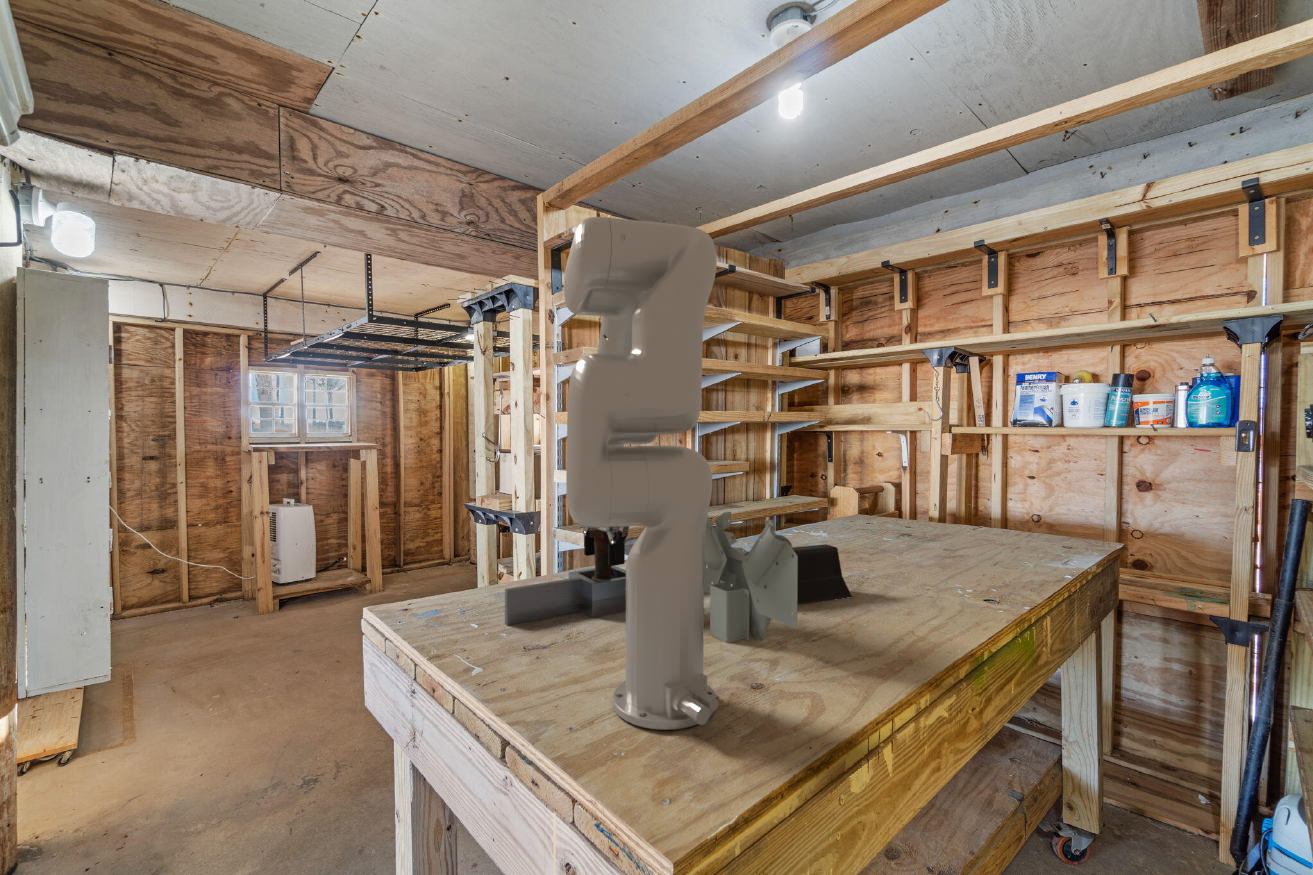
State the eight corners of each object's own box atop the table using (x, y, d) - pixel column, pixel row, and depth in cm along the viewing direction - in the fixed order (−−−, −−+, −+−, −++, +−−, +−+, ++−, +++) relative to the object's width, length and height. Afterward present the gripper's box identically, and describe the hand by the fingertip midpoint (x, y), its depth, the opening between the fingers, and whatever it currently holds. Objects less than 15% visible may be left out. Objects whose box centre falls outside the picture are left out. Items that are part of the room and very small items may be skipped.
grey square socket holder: (698, 595, 113) (698, 566, 113) (516, 633, 92) (516, 597, 92) (670, 584, 122) (670, 556, 121) (496, 616, 101) (496, 583, 100)
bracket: (814, 658, 82) (815, 523, 82) (780, 669, 79) (780, 527, 78) (701, 607, 106) (701, 502, 105) (670, 614, 102) (670, 504, 101)
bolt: (582, 607, 106) (582, 528, 105) (596, 600, 110) (596, 524, 110) (609, 611, 103) (610, 530, 103) (622, 603, 108) (622, 526, 108)
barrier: (751, 613, 104) (752, 559, 103) (728, 599, 112) (728, 549, 112) (853, 598, 113) (853, 549, 112) (824, 587, 121) (825, 541, 120)
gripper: (644, 472, 101) (644, 566, 102) (600, 466, 116) (600, 549, 116) (608, 473, 97) (608, 572, 97) (566, 468, 112) (566, 553, 112)
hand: (603, 559), depth 107 cm, fingers open, 9 cm apart
